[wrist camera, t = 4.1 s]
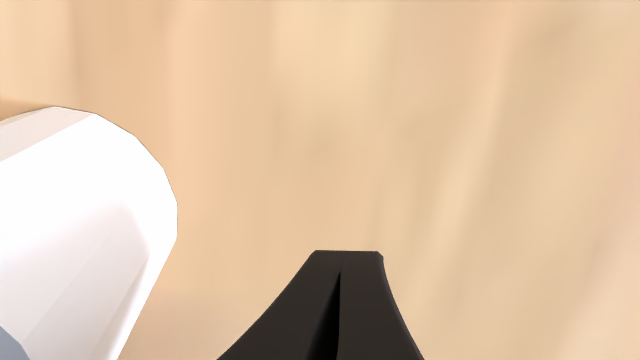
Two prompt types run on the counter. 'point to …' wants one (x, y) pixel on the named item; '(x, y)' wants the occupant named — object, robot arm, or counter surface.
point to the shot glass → (77, 234)
